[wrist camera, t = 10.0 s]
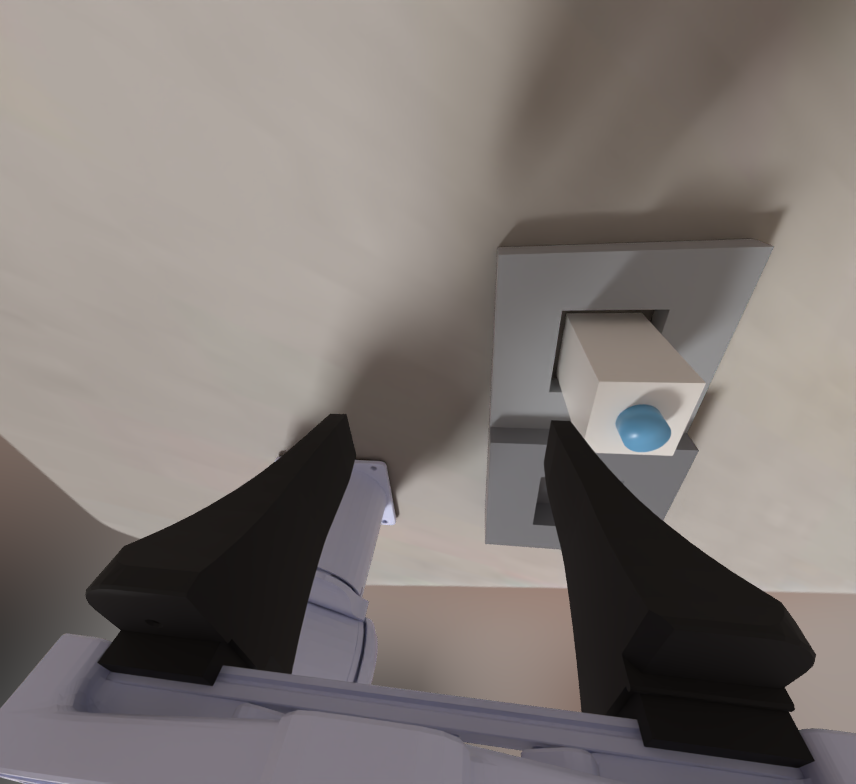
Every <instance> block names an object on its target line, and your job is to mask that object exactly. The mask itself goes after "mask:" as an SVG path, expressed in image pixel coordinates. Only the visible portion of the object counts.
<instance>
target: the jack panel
mask: <svg viewBox="0 0 856 784" xmlns="http://www.w3.org/2000/svg"><path fill="white" fill-rule="evenodd" d="M773 248H774V246H772V245H769V244H766V243H764V242H761V241H758V240H756V239H729V240H699V241H669V242H639V243H609V244H580V245H550V246H520V247H498V248H497V269H496V289H495V310H494V331H493V352H492V373H491V394H490V415H489V436H488V457H487V478H486V499H485V544H495V545H509V546H522V547H535V548H549V549H561V547H560V543H559V539H558V535H557V531H556V527H555V523H554V518H553V514H552V510H551V506H550V502H549V498H548V494H547V488H546V480H545V472H544V458H545V452H546V447H547V441H548V435H549V429H550V424H551V420H559V421H571V419H570V416H569V412H568V409H567V406H566V403H565V400H564V397H563V394H562V390H561V387H560V384H559V381H558V379H551V377H552V371H553V364H554V358H555V352H556V346H557V340H558V333H559V327H560V321H561V315H562V311H569V310H654V313H653V316H652V320H651V323H652V325H653V326H654V327H655V328H656V329H657V330H658V331H659V332H660V333H661V334H662V336H663V337H664V338H665V339H666V340H667V341H668V342H669V343H670V344H671V345H672V346H673V348H674V349H675V350H676V351H677V352H678V353H679V354H680V355H681V356H682V357H683V359H684V360H685V361H686V362H687V363H688V364H689V365H690V366H691V367H692V368H693V369H694V371H695V372H696V373H697V374H698V375H699V376H700V377H701V378H702V379H703V380H704V382H705V383H706V384H705V387H704V389H703V391H702V393H701V395H700V397H699V400H698V402H697V404H696V406H695V408H694V411H693V413H692V415H691V417H690V419H689V421H688V424H687V426H686V428H685V430H684V432H683V435H682V437H681V439H680V441H679V443H678V445H677V448H676V450H675V452H674V454H673V456H662V455H637V454H611V453H596V454H597V455H598V456H599V458H600V459H601V460H602V461H603V462H604V463H605V465H606V466H607V467H608V468H609V469H610V470H611V471H612V473H613V474H614V475H615V476H616V477H617V478H618V479H619V480H620V481H621V482H622V483H623V484H624V485H625V486H626V487H627V488H628V489H629V490H630V491H631V492H632V493H633V494H634V495H635V496H636V497H637V498H638V499H639V500H640V501H641V502H642V503H643V504H644V505H645V506H647V507H648V508H649V509H650V510H651V511H652V512H653V513H654V514H655V515H657V516H658V517H659V518H660V519H661V520H664V518H665V516H666V514H667V512H668V510H669V508H670V506H671V504H672V502H673V500H674V498H675V496H676V494H677V492H678V490H679V489H680V487H681V485H682V483H683V481H684V479H685V477H686V475H687V473H688V471H689V469H690V467H691V465H692V463H693V461H694V459H695V457H696V455H697V453H698V451H699V450H698V449H697V447H696V446H695V444H694V443H693V441H692V440H691V438H690V437H689V436H688V434H687V432H688V430H689V428H690V426H691V424H692V422H693V419H694V417H695V415H696V413H697V411H698V409H699V407H700V404H701V402H702V400H703V398H704V396H705V394H706V392H707V389H708V387H709V385H710V383H711V381H712V379H713V377H714V374H715V372H716V370H717V368H718V366H719V364H720V362H721V359H722V357H723V355H724V353H725V351H726V349H727V347H728V344H729V342H730V340H731V338H732V336H733V334H734V332H735V329H736V327H737V325H738V323H739V321H740V319H741V317H742V314H743V312H744V310H745V308H746V306H747V304H748V302H749V299H750V297H751V295H752V293H753V291H754V289H755V287H756V284H757V282H758V280H759V278H760V276H761V274H762V271H763V269H764V267H765V265H766V263H767V261H768V259H769V256H770V254H771V252H772V250H773Z"/></svg>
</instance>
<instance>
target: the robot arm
mask: <svg viewBox="0 0 856 784" xmlns="http://www.w3.org/2000/svg"><path fill="white" fill-rule="evenodd" d="M355 458H356V452H355V448H354V444H353V440H352V436H351V432H350V427H349V423H348V419H347V415H346V414H330V415H329V416H327V417H326V418H325V419H324V420H323V421H322V422H321V423H319V424H318V425H317V426H316V427H315V428H314V429H313V430H312V431H311V432H309V433H308V434H307V435H306V436H305V437H304V438H303V439H302V440H300V441H299V442H298V443H297V444H296V445H295V446H293V447H292V448H291V449H290V450H289V451H288V452H286V453H285V454H284V455H283V456H280V457H277V458H276V460H275V462H274V463H273V464H271V465H270V466H269V467H268V468H266V469H265V470H264V471H262V472H261V473H260V474H258V475H257V476H255V477H254V478H253V479H251V480H250V481H248V482H247V483H245V484H244V485H242V486H241V487H239V488H238V489H236V490H235V491H233V492H231V493H230V494H228V495H226V496H225V497H223V498H221V499H219V500H218V501H216V502H214V503H213V504H211V505H209V506H208V507H206V508H204V509H202V510H200V511H198V512H197V513H195V514H193V515H191V516H189V517H187V518H185V519H183V520H181V521H179V522H177V523H175V524H173V525H171V526H169V527H167V528H165V529H162V530H160V531H158V532H156V533H153V534H151V535H149V536H147V537H144V538H142V539H140V540H138V541H135V542H133V543H131V544H128V545H126V546H124V547H123V548H122V549H121V550H120V551H119V553H118V554H117V555H116V556H115V557H114V558H113V560H112V561H111V562H110V563H109V564H108V565H107V566H106V568H105V569H104V570H103V571H102V572H101V573H100V574H99V576H98V577H97V578H96V579H95V580H94V581H93V583H92V584H91V585H90V586H89V587H88V588H87V589H86V599H87V601H88V603H89V604H90V605H91V606H92V607H93V608H94V609H95V610H96V611H98V612H99V613H100V614H101V615H102V616H104V617H105V618H106V619H107V620H109V621H110V622H111V623H112V624H114V625H115V626H116V627H118V628H119V629H120V630H121V631H120V632H119V634H118V635H117V637H116V638H115V639H114V641H113V642H111V641H108V640H106V639H102V638H97V637H90V636H82V635H74V634H64V635H62V636H61V637H60V638H59V639H58V641H57V642H56V643H55V644H54V645H53V647H52V648H51V649H50V650H49V651H48V653H47V654H46V655H45V656H44V657H43V659H42V660H41V661H40V662H39V663H38V664H37V666H36V667H35V668H34V669H33V670H32V672H31V673H30V674H29V675H28V676H27V678H26V679H25V680H24V681H23V682H22V684H21V685H20V686H19V687H18V688H17V690H16V691H15V692H14V693H13V694H12V695H11V697H10V698H9V699H8V700H7V701H6V703H5V704H4V705H3V706H2V707H1V709H0V777H3V778H6V779H10V780H14V781H17V782H21V783H24V784H856V733H850V732H842V731H834V730H827V729H813V728H812V729H802V730H798V728H797V727H796V725H795V723H794V721H793V719H792V717H791V715H790V713H789V712H792V711H794V710H795V708H794V704H793V702H792V700H791V698H790V697H789V695H788V693H787V691H786V689H785V686H787V685H789V684H790V683H791V682H793V681H794V680H795V679H797V678H799V677H800V676H802V675H803V674H804V673H806V672H807V671H808V670H809V669H810V668H811V667H812V666H813V664H814V662H815V657H816V654H815V652H814V651H813V649H812V648H811V646H810V644H809V643H808V641H807V640H806V638H805V636H804V635H803V633H802V631H801V630H800V628H799V627H798V625H797V623H796V622H795V621H794V619H793V618H792V616H791V615H790V613H789V612H788V611H787V609H786V608H785V607H784V605H783V604H782V603H781V602H780V601H778V600H777V599H775V598H773V597H772V596H770V595H769V594H767V593H765V592H764V591H762V590H761V589H759V588H757V587H756V586H754V585H752V584H751V583H749V582H748V581H746V580H744V579H743V578H741V577H740V576H738V575H736V574H735V573H733V572H732V571H730V570H729V569H727V568H726V567H724V566H723V565H722V564H720V563H719V562H717V561H716V560H714V559H713V558H711V557H710V556H708V555H707V554H706V553H704V552H703V551H701V550H700V549H699V548H697V547H696V546H695V545H693V544H692V543H690V542H689V541H688V540H687V539H685V538H684V537H683V536H681V535H680V534H679V533H678V532H676V531H675V530H674V529H672V528H671V527H670V526H669V525H667V524H666V523H665V522H664V521H663V520H661V519H660V518H659V517H658V516H657V515H655V514H654V513H653V512H652V511H651V510H650V509H649V508H648V507H647V506H645V505H644V504H643V503H642V502H641V501H640V500H639V499H638V498H637V497H636V496H635V495H634V494H633V493H632V492H631V491H630V490H629V489H628V488H627V487H626V486H625V485H624V484H623V483H622V482H621V481H620V480H619V479H618V478H617V477H616V476H615V475H614V474H613V473H612V471H611V470H610V469H609V468H608V467H607V466H606V465H605V463H604V462H603V461H602V460H601V459H600V458H599V456H598V455H597V454H596V453H595V452H594V450H593V449H592V448H591V447H590V445H589V444H588V443H587V442H586V440H585V439H584V438H583V437H582V435H581V434H580V433H579V431H578V430H577V429H576V427H575V426H574V425H573V423H572V422H571V421H559V420H551V424H550V429H549V435H548V441H547V447H546V452H545V458H544V472H545V480H546V488H547V494H548V498H549V502H550V506H551V510H552V514H553V518H554V523H555V527H556V531H557V535H558V539H559V543H560V547H561V551H562V556H563V561H564V566H565V573H566V580H567V587H568V594H569V601H570V609H571V617H572V624H573V633H574V642H575V650H576V659H577V669H578V679H579V689H580V700H581V711H582V712H574V711H567V710H560V709H552V708H544V707H537V706H529V705H521V704H514V703H505V702H499V701H491V700H483V699H475V698H468V697H460V696H452V695H445V694H437V693H430V692H422V691H415V690H407V689H399V688H391V687H383V686H377V685H371V682H372V678H373V674H374V669H375V665H376V659H377V658H376V657H377V649H378V641H377V635H376V632H375V627H374V623H373V621H372V620H371V619H369V618H366V617H365V616H366V611H367V607H368V603H369V602H368V600H365V599H363V598H362V596H363V592H364V588H365V584H366V580H367V576H368V572H369V568H370V565H371V561H372V557H373V553H374V549H375V545H376V541H377V538H378V534H379V530H380V526H381V524H382V525H394V524H395V523H396V515H395V510H394V504H393V499H392V493H391V487H390V482H389V476H388V471H387V466H386V464H385V463H384V462H382V461H368V460H355ZM373 466H375V467H373ZM463 742H468V743H474V744H481V745H488V746H495V747H502V748H508V749H515V750H522V753H521V757H517V756H513V755H509V754H505V753H500V752H496V751H493V750H489V749H484V748H480V747H476V746H472V745H468V744H464V743H463Z"/></svg>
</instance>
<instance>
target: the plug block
mask: <svg viewBox="0 0 856 784" xmlns="http://www.w3.org/2000/svg"><path fill="white" fill-rule="evenodd" d="M556 375H557V378H558V381H559V384H560V387H561V390H562V394H563V397H564V400H565V403H566V406H567V409H568V412H569V416H570V419H571V422H572V423H573V425H574V426H575V427H576V429H577V430H578V431H579V433H580V434H581V435H582V437H583V438H584V439H585V440H586V442H587V443H588V444H589V445H590V447H591V448H592V449H593V450H594V452H595V453H611V454H637V455H662V456H673V454H674V452H675V450H676V448H677V445H678V443H679V441H680V439H681V437H682V435H683V432H684V430H685V428H686V426H687V424H688V421H689V419H690V417H691V415H692V413H693V411H694V408H695V406H696V404H697V402H698V400H699V397H700V395H701V393H702V391H703V389H704V387H705V384H706V383H705V382H704V380H703V379H702V378H701V377H700V376H699V375H698V374H697V373H696V372H695V371H694V369H693V368H692V367H691V366H690V365H689V364H688V363H687V362H686V361H685V360H684V359H683V357H682V356H681V355H680V354H679V353H678V352H677V351H676V350H675V349H674V348H673V346H672V345H671V344H670V343H669V342H668V341H667V340H666V339H665V338H664V337H663V336H662V334H661V333H660V332H659V331H658V330H657V329H656V328H655V327H654V326H653V325H652V323H651V322H650V321H649V320H648V319H647V318H646V317H645V316H644V315H643V314H642V313H566V318H565V323H564V329H563V335H562V341H561V347H560V353H559V359H558V365H557V371H556Z"/></svg>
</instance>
